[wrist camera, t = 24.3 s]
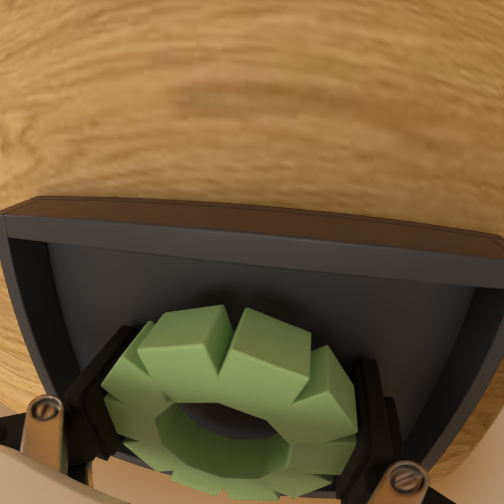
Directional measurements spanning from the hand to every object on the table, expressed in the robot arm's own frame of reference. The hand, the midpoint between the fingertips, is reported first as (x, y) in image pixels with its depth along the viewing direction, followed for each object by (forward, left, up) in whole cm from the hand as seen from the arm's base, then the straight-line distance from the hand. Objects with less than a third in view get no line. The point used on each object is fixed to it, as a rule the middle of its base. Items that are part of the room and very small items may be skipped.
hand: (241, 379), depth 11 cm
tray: (0, 0, -1) cm, 1 cm away
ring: (0, 0, +1) cm, 1 cm away
